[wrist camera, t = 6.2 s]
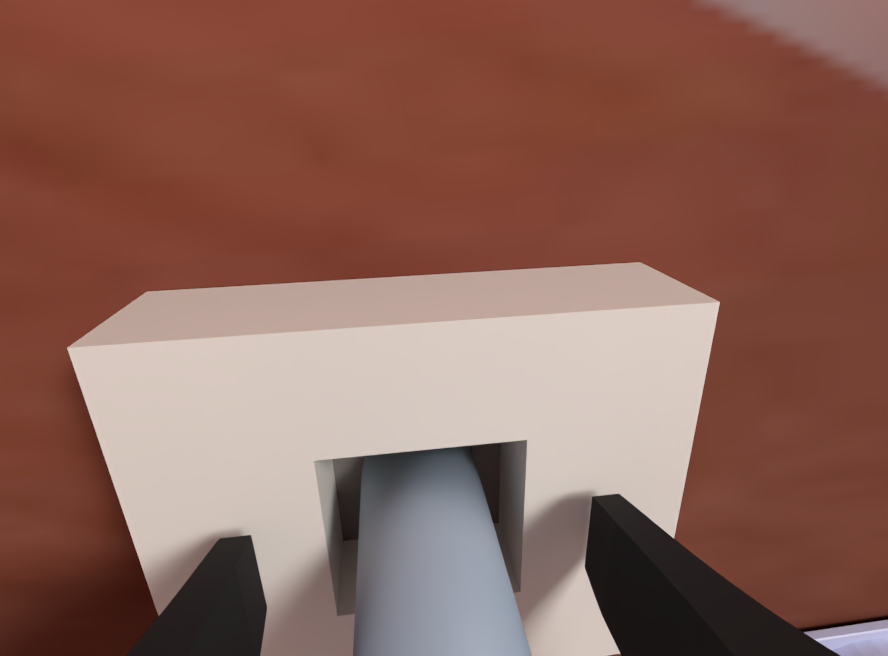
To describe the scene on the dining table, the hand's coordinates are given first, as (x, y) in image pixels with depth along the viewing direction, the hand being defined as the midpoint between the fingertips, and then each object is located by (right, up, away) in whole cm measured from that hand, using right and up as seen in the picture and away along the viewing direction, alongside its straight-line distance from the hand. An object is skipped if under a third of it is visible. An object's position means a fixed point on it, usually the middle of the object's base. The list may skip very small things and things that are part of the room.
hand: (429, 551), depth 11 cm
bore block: (0, +1, +3) cm, 4 cm away
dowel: (0, +1, +3) cm, 3 cm away
